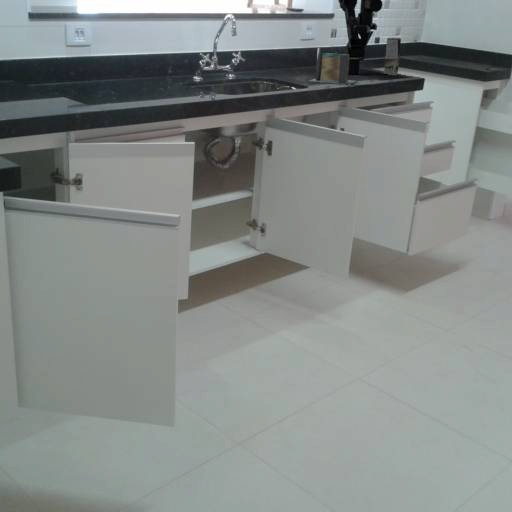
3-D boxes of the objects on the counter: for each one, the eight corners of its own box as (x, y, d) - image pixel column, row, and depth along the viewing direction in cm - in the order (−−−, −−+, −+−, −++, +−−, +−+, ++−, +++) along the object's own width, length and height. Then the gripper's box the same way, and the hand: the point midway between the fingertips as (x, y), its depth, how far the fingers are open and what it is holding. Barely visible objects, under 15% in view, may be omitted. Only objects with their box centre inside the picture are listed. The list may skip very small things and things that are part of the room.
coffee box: (397, 75, 332) (401, 39, 326) (383, 74, 333) (386, 39, 327) (398, 73, 340) (401, 37, 334) (384, 72, 341) (387, 37, 335)
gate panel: (320, 79, 306) (322, 53, 302) (321, 79, 307) (323, 52, 303) (346, 81, 302) (348, 54, 298) (347, 81, 303) (349, 54, 299)
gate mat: (309, 81, 306) (309, 80, 306) (317, 78, 315) (317, 77, 315) (349, 85, 299) (349, 83, 299) (356, 81, 309) (356, 80, 309)
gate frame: (314, 81, 307) (316, 47, 301) (317, 81, 309) (318, 47, 303) (344, 84, 300) (347, 50, 295) (347, 84, 302) (349, 49, 297)
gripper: (354, 9, 323) (351, 45, 329) (343, 10, 307) (340, 48, 312) (378, 10, 319) (375, 46, 325) (368, 11, 303) (365, 49, 309)
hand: (363, 47), depth 318 cm, fingers closed
